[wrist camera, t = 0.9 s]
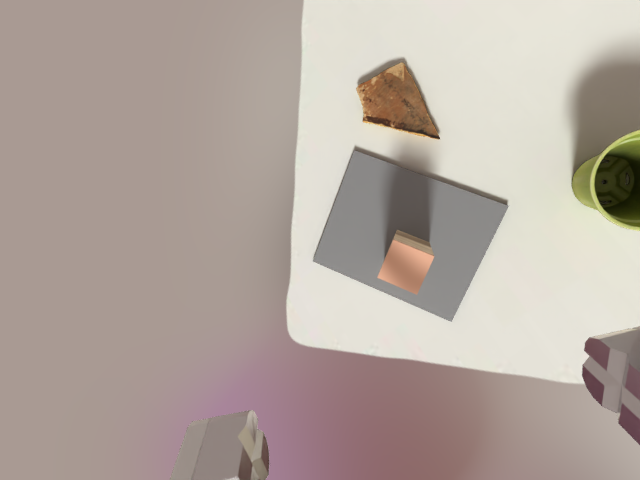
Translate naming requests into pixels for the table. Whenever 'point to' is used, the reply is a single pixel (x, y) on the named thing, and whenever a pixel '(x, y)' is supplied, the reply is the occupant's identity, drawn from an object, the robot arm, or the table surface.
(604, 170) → the plant pot
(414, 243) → the birch block
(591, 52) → the table surface
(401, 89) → the shard
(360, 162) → the rubber mat
